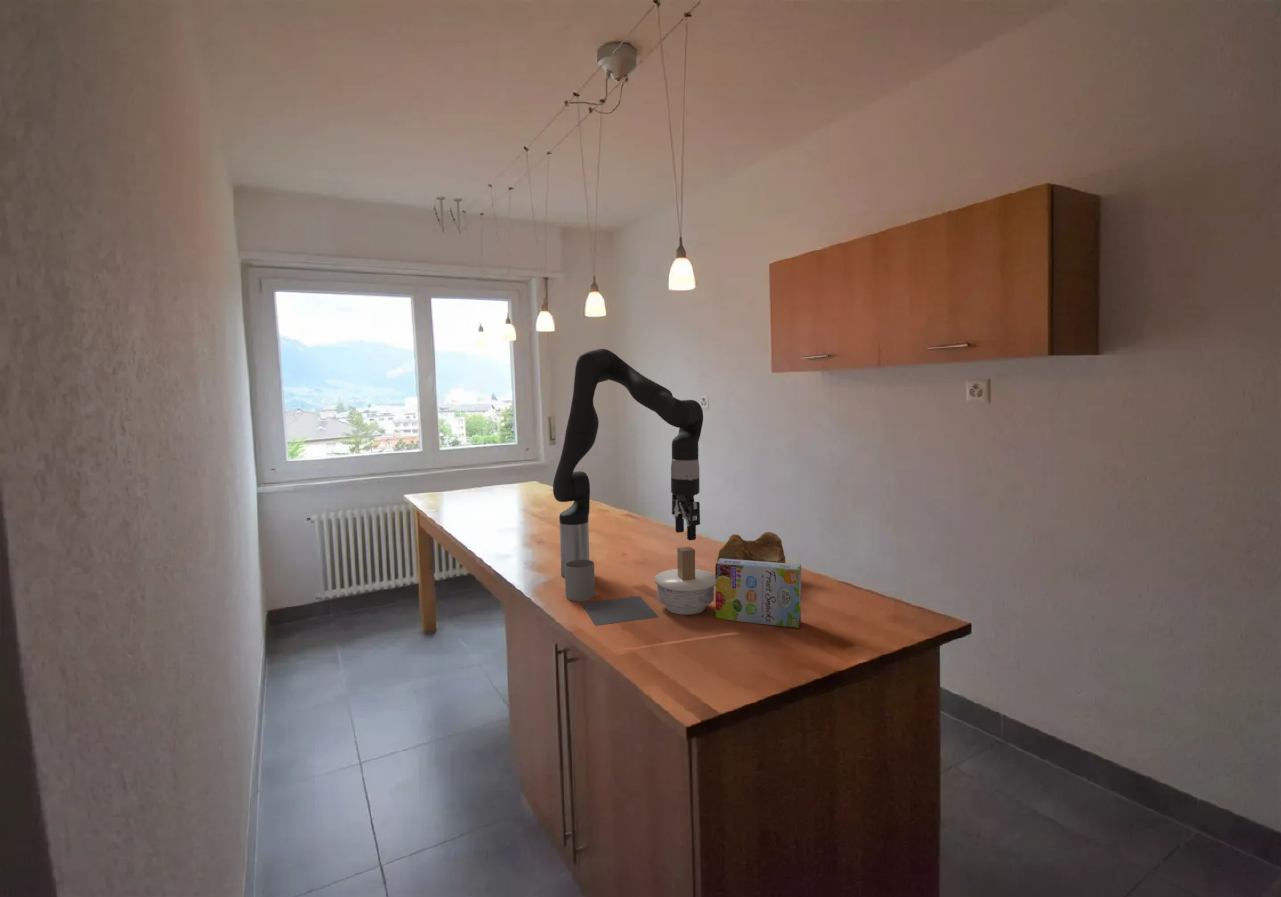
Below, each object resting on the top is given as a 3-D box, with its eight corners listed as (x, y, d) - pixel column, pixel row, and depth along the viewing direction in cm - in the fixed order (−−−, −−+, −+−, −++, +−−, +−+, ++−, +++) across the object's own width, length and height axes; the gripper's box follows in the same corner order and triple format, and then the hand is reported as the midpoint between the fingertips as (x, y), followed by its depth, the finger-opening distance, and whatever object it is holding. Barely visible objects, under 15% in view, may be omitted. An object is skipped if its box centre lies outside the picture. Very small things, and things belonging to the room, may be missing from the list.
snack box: (801, 621, 157) (801, 563, 155) (799, 629, 151) (799, 569, 150) (719, 612, 164) (719, 556, 162) (714, 619, 159) (714, 562, 157)
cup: (590, 603, 172) (589, 568, 171) (561, 601, 173) (560, 567, 172) (598, 593, 180) (597, 560, 179) (571, 591, 182) (570, 558, 181)
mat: (581, 604, 171) (581, 603, 171) (639, 597, 176) (639, 595, 176) (595, 627, 155) (595, 625, 155) (659, 618, 160) (659, 616, 160)
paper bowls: (649, 616, 162) (648, 586, 161) (668, 597, 176) (668, 570, 175) (705, 623, 156) (705, 593, 155) (720, 603, 170) (720, 575, 169)
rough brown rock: (745, 602, 173) (750, 551, 170) (708, 582, 187) (712, 534, 184) (803, 589, 185) (808, 541, 183) (765, 571, 199) (769, 526, 197)
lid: (646, 575, 171) (645, 544, 170) (702, 568, 176) (702, 538, 175) (668, 594, 155) (667, 560, 154) (729, 586, 160) (729, 553, 159)
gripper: (662, 472, 168) (663, 531, 170) (681, 480, 154) (682, 544, 156) (688, 471, 170) (688, 528, 172) (709, 479, 157) (709, 541, 158)
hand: (685, 535), depth 164 cm, fingers open, 8 cm apart
